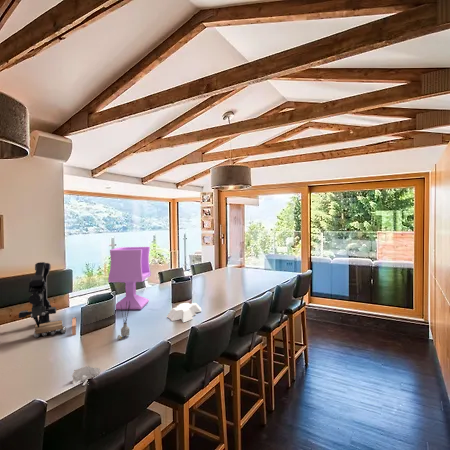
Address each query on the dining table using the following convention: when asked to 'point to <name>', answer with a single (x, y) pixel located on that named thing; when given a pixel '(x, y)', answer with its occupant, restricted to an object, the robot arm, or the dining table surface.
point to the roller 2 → (52, 332)
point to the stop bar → (74, 326)
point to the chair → (130, 273)
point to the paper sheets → (184, 312)
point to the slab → (48, 327)
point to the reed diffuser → (124, 325)
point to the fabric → (84, 374)
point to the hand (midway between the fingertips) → (38, 326)
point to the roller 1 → (36, 335)
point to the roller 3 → (63, 330)
